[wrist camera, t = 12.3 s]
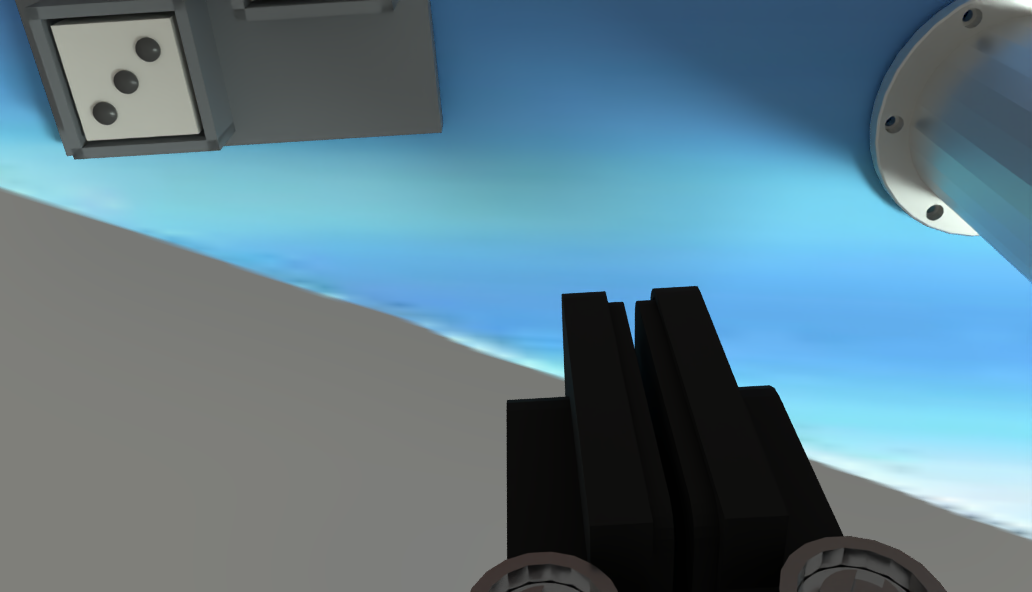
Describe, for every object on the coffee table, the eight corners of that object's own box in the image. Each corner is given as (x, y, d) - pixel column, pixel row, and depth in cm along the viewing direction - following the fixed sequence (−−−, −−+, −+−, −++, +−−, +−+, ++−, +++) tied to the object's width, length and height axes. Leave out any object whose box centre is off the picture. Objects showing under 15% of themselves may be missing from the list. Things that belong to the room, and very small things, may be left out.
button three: (184, 8, 38) (168, 19, 36) (211, 119, 40) (197, 135, 39) (71, 15, 38) (48, 26, 36) (105, 126, 41) (85, 142, 39)
